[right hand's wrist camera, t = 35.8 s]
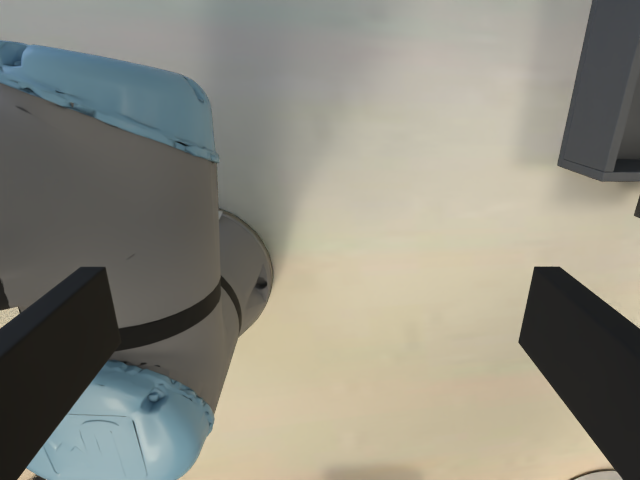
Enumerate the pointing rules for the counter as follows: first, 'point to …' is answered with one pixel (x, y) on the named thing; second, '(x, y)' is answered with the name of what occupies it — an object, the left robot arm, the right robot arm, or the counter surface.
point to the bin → (607, 97)
